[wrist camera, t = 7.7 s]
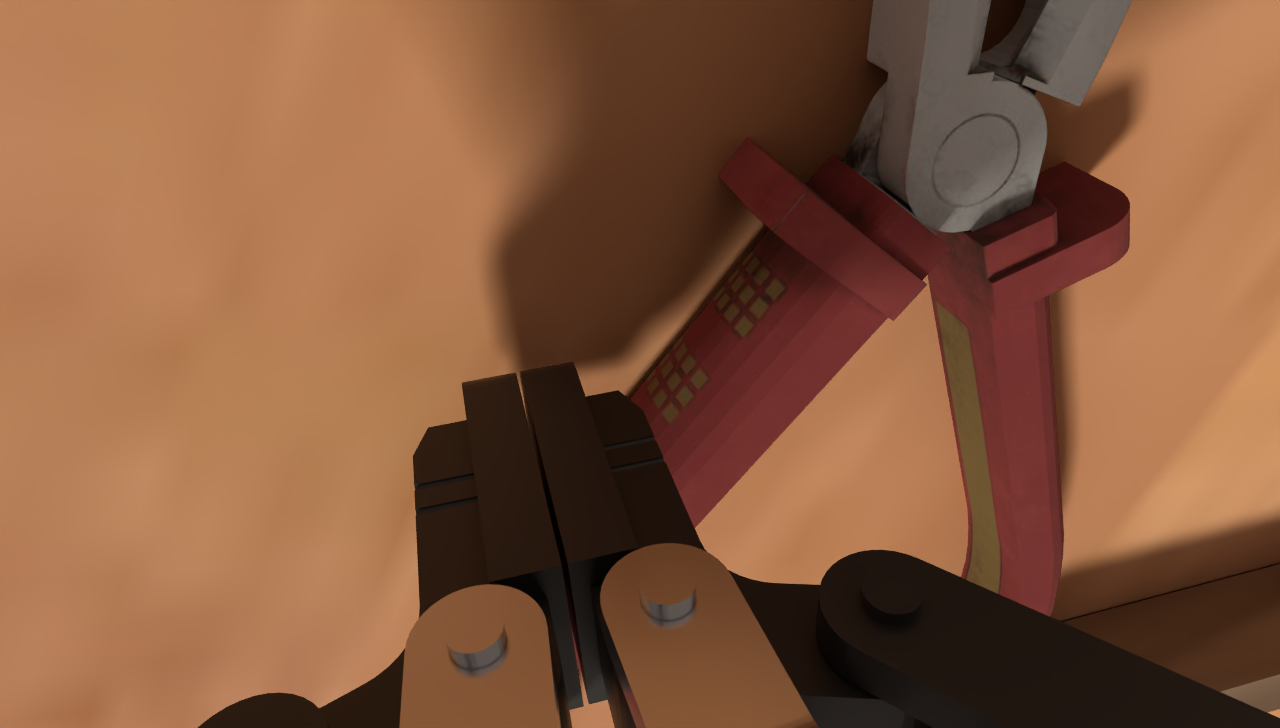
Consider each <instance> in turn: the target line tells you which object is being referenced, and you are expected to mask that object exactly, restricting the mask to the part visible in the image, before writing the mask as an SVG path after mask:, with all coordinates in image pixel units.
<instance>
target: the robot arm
mask: <svg viewBox="0 0 1280 728" xmlns="http://www.w3.org/2000/svg"><path fill="white" fill-rule="evenodd" d="M520 378H521V384H522V391H523V397H524V403H525V409H526V413H525V409H524V405H523V400H522V396H521V392H520V388H519V384H518V379H517V375H516V373H511V374H506V375H500V376H495V377H490V378H484V379H479V380H474V381H468V382H463V383H462V389H463V396H464V403H465V411H466V418H467V420H465V421H460V422H455V423H450V424H445V425H439V426H434V427H429V428H428V429H427V431H426V433H425V435H424V437H423V438H422V440H421V442H420V444H419V446H418V448H417V450H416V451H415V453H414V455H413V466H414V486H415V509H416V532H417V554H418V576H419V598H420V612H419V619H418V620H417V622H416V623H415V625H414V627H413V628H412V630H411V632H410V634H409V637H408V639H407V642H406V647H405V649H404V650H403V652H402V653H401V654H400V655H399V657H398V658H397V659H396V660H395V661H394V662H393V663H392V664H391V665H390V666H389V667H388V668H387V669H385V670H384V671H383V672H381V673H380V674H379V675H378V676H376V677H375V678H373V679H372V680H370V681H368V682H367V683H365V684H364V685H362V686H360V687H358V688H356V689H355V690H353V691H351V692H349V693H347V694H345V695H343V696H342V697H340V698H338V699H336V700H334V701H332V702H330V703H329V704H327V705H325V706H323V707H321V708H318V707H317V706H316V705H315V704H313V703H312V702H311V701H309V700H307V699H305V698H303V697H300V696H297V695H294V694H287V693H267V694H262V695H257V696H253V697H250V698H247V699H244V700H241V701H239V702H237V703H235V704H232V705H230V706H228V707H226V708H225V709H223V710H221V711H220V712H218V713H216V714H215V715H213V716H212V717H211V718H209V719H208V720H207V721H205V722H204V723H203V724H202V725H200V726H199V727H198V728H572V723H571V718H570V712H569V710H571V709H575V708H579V707H583V706H584V705H583V699H582V692H581V686H580V680H579V673H578V667H577V660H576V654H575V648H574V642H575V646H576V651H577V655H578V659H579V664H580V668H581V672H582V676H583V681H584V685H585V689H586V694H587V698H588V702H589V704H592V703H596V702H600V701H604V700H608V703H609V706H610V710H611V714H612V718H613V722H614V726H615V728H1280V718H1278V717H1276V716H1273V715H1271V714H1269V713H1267V712H1264V711H1262V710H1260V709H1258V708H1255V707H1253V706H1251V705H1249V704H1246V703H1244V702H1242V701H1239V700H1237V699H1235V698H1233V697H1230V696H1228V695H1226V694H1224V693H1221V692H1219V691H1217V690H1215V689H1212V688H1210V687H1208V686H1206V685H1203V684H1201V683H1199V682H1196V681H1194V680H1192V679H1190V678H1187V677H1185V676H1183V675H1181V674H1178V673H1176V672H1174V671H1172V670H1169V669H1167V668H1165V667H1163V666H1160V665H1158V664H1156V663H1153V662H1151V661H1149V660H1147V659H1144V658H1142V657H1140V656H1138V655H1135V654H1133V653H1131V652H1129V651H1126V650H1124V649H1122V648H1120V647H1117V646H1115V645H1113V644H1110V643H1108V642H1106V641H1104V640H1101V639H1099V638H1097V637H1095V636H1092V635H1090V634H1088V633H1086V632H1083V631H1081V630H1079V629H1077V628H1074V627H1072V626H1070V625H1067V624H1065V623H1063V622H1061V621H1058V620H1056V619H1054V618H1052V617H1049V616H1047V615H1045V614H1043V613H1040V612H1038V611H1036V610H1034V609H1031V608H1029V607H1027V606H1024V605H1022V604H1020V603H1018V602H1015V601H1013V600H1011V599H1009V598H1006V597H1004V596H1002V595H1000V594H997V593H995V592H993V591H991V590H988V589H986V588H984V587H981V586H979V585H977V584H975V583H972V582H970V581H968V580H966V579H963V578H961V577H959V576H957V575H954V574H952V573H950V572H948V571H945V570H943V569H941V568H938V567H936V566H934V565H932V564H929V563H927V562H925V561H923V560H920V559H918V558H915V557H913V556H910V555H907V554H903V553H899V552H895V551H887V550H869V551H861V552H857V553H854V554H851V555H848V556H846V557H844V558H842V559H840V560H839V561H837V562H836V563H835V564H833V565H832V566H831V567H830V568H829V570H828V571H827V572H826V574H825V575H824V577H823V579H822V581H821V585H807V584H780V583H768V582H761V581H756V580H751V579H748V578H745V577H742V576H740V575H737V574H735V573H733V572H731V571H729V570H728V569H727V568H726V567H725V566H724V565H723V564H722V563H721V562H720V561H719V560H718V559H717V558H716V557H714V556H713V555H711V554H710V553H708V552H707V551H706V550H705V549H704V547H703V545H702V543H701V542H700V540H699V537H698V535H697V533H696V530H695V528H694V526H693V524H692V521H691V519H690V517H689V514H688V512H687V510H686V508H685V505H684V503H683V501H682V498H681V496H680V494H679V492H678V489H677V487H676V485H675V482H674V480H673V478H672V475H671V473H670V471H669V469H668V466H667V464H666V462H664V459H663V455H662V453H661V450H660V448H659V446H658V443H657V441H655V439H654V434H653V432H652V430H651V427H650V425H649V423H648V421H647V418H646V416H645V414H644V411H643V409H641V408H640V407H639V406H637V405H636V404H635V403H634V402H632V401H631V400H630V399H628V398H627V397H626V396H625V395H623V394H622V393H621V392H619V391H612V392H607V393H602V394H597V395H592V396H587V397H585V394H584V391H583V388H582V385H581V382H580V379H579V376H578V374H577V371H576V368H575V365H574V363H573V362H569V363H563V364H558V365H553V366H547V367H542V368H537V369H531V370H526V371H520ZM526 415H527V417H526ZM527 421H528V422H527ZM572 633H573V635H572ZM573 638H574V641H573Z"/></svg>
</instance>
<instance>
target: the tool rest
mask: <svg viewBox="0 0 1280 728" xmlns="http://www.w3.org/2000/svg"><path fill="white" fill-rule="evenodd" d="M1063 623H1065V624H1067V625H1070V626H1072V627H1074V628H1077V629H1079V630H1081V631H1083V632H1086V633H1088V634H1090V635H1092V636H1095V637H1097V638H1099V639H1101V640H1104V641H1106V642H1108V643H1110V644H1113V645H1115V646H1117V647H1120V648H1122V649H1124V650H1126V651H1129V652H1131V653H1133V654H1135V655H1138V656H1140V657H1142V658H1144V659H1147V660H1149V661H1151V662H1153V663H1156V664H1158V665H1160V666H1163V667H1165V668H1167V669H1169V670H1172V671H1174V672H1176V673H1178V674H1181V675H1183V676H1185V677H1187V678H1190V679H1192V680H1194V681H1196V682H1199V683H1201V684H1203V685H1206V686H1208V687H1210V688H1212V689H1215V690H1217V691H1219V692H1221V693H1224V694H1226V695H1228V696H1230V697H1233V698H1235V699H1237V700H1239V701H1242V702H1244V703H1246V704H1249V705H1251V706H1253V707H1255V708H1258V709H1260V710H1262V711H1264V712H1271V711H1274V710H1277V709H1280V564H1278V565H1274V566H1270V567H1267V568H1263V569H1259V570H1255V571H1252V572H1248V573H1244V574H1240V575H1237V576H1233V577H1229V578H1225V579H1222V580H1218V581H1214V582H1210V583H1207V584H1203V585H1199V586H1195V587H1192V588H1188V589H1184V590H1180V591H1177V592H1173V593H1169V594H1165V595H1162V596H1158V597H1154V598H1150V599H1147V600H1143V601H1139V602H1135V603H1132V604H1128V605H1124V606H1120V607H1117V608H1113V609H1109V610H1105V611H1102V612H1098V613H1094V614H1090V615H1087V616H1083V617H1079V618H1075V619H1072V620H1068V621H1064V622H1063Z"/></svg>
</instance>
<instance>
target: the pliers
mask: <svg viewBox="0 0 1280 728" xmlns="http://www.w3.org/2000/svg"><path fill="white" fill-rule="evenodd" d="M1131 1H1132V0H1026V1H1025V6H1024V8H1023V10H1022V13H1021V15H1020V17H1019V20H1018V21H1017V23H1016V24H1015V26H1014V27H1013V29H1012V30H1011V32H1010V33H1009V34H1008V35H1007V36H1006V37H1005V38H1004V39H1003V40H1002V41H1001V42H1000V43H999V44H997V45H996V46H994V47H993V48H992V49H990V50H987V51H985V52H982V53H981V49H982V44H983V39H984V34H985V29H986V24H987V19H988V14H989V9H990V4H991V0H873V8H872V16H871V25H870V33H869V42H868V51H867V59H866V60H868V61H870V62H871V63H873V64H875V65H876V66H878V67H880V68H881V69H883V70H885V71H886V72H888V79H887V82H886V83H885V84H884V85H883V86H882V87H881V88H880V89H879V90H878V92H877V93H876V94H875V96H874V97H873V99H872V100H871V102H870V104H869V106H868V109H867V111H866V113H865V115H864V117H863V119H862V122H861V124H860V126H859V128H858V130H857V132H856V135H855V137H854V139H853V141H852V143H851V145H850V148H849V150H848V152H847V154H846V156H845V158H844V160H843V161H841V160H840V159H839V158H837V157H836V156H835V155H833V154H831V155H830V157H829V158H828V159H827V160H826V161H825V163H824V164H823V165H822V166H821V167H820V169H819V170H818V171H817V172H816V173H815V175H814V176H813V177H812V178H811V179H810V181H809V182H808V183H807V184H805V183H804V182H802V181H801V180H800V179H799V178H797V177H796V176H795V175H794V174H792V173H791V172H790V171H789V170H787V169H786V168H785V167H784V166H782V165H781V164H780V163H779V162H778V161H776V160H775V159H774V158H773V157H771V156H770V155H769V154H767V153H766V152H765V151H764V150H762V149H761V148H760V147H759V146H757V145H756V144H755V143H754V142H752V141H751V140H750V139H749V138H747V139H746V140H745V141H744V143H743V144H742V145H741V146H740V148H739V149H738V150H737V151H736V153H735V154H734V155H733V157H732V158H731V159H730V160H729V162H728V163H727V164H726V166H725V167H724V168H723V169H722V171H721V172H720V173H719V175H718V176H719V177H720V178H721V179H722V181H723V182H724V183H725V184H726V185H727V186H728V187H729V188H730V189H731V190H732V191H733V193H734V194H735V195H736V196H737V197H738V198H739V199H740V200H741V201H742V202H743V203H744V205H745V206H746V207H747V208H748V209H749V210H750V211H751V212H752V213H753V214H754V215H755V216H756V217H757V218H758V219H759V220H760V221H762V222H763V223H764V224H765V225H766V226H767V227H768V228H769V230H768V232H767V233H766V234H765V235H764V236H763V238H762V239H761V240H760V241H759V242H758V244H757V245H756V246H755V247H754V249H753V250H752V251H751V252H750V253H749V255H748V256H747V257H746V258H745V259H744V261H743V262H742V263H741V264H740V266H739V267H738V268H737V269H736V270H735V272H734V273H733V274H732V275H731V276H730V278H729V279H728V280H727V281H726V283H725V284H724V285H723V286H722V287H721V289H720V290H719V291H718V292H717V293H716V295H715V296H714V297H713V298H712V300H711V301H710V302H709V303H708V304H707V306H706V307H705V308H704V309H703V310H702V312H701V313H700V314H699V315H698V317H697V318H696V319H695V320H694V321H693V323H692V324H691V325H690V326H689V327H688V329H687V330H686V331H685V332H684V334H683V335H682V336H681V337H680V338H679V340H678V341H677V342H676V343H675V344H674V346H673V347H672V348H671V349H670V351H669V352H668V353H667V354H666V355H665V357H664V358H663V359H662V360H661V361H660V363H659V364H658V365H657V366H656V368H655V369H654V370H653V371H652V372H651V374H650V375H649V376H648V377H647V378H646V380H645V381H644V382H643V383H642V385H641V386H640V387H639V388H638V389H637V391H636V392H635V393H634V394H633V395H632V397H631V398H630V400H631V401H632V402H634V403H635V404H636V405H637V406H639V407H640V408H641V409H643V411H644V414H645V416H646V418H647V421H648V423H649V425H650V427H651V430H652V432H653V434H654V439H655V441H657V443H658V446H659V448H660V450H661V453H662V455H663V459H664V462H666V464H667V466H668V469H669V471H670V473H671V475H672V478H673V480H674V482H675V485H676V487H677V489H678V492H679V494H680V496H681V498H682V501H683V503H684V505H685V508H686V510H687V512H688V514H689V517H690V519H691V521H692V524H693V526H694V528H695V527H696V526H697V525H698V524H699V523H700V522H701V521H702V520H703V519H704V518H705V516H706V515H707V514H708V513H709V512H710V511H711V510H712V509H713V508H714V507H715V506H716V504H717V503H718V502H719V501H720V500H721V499H722V498H723V497H724V496H725V495H726V494H727V493H728V491H729V490H730V489H731V488H732V487H733V486H734V485H735V484H736V483H737V482H738V481H739V479H740V478H741V477H742V476H743V475H744V474H745V473H746V472H747V471H748V470H749V469H750V467H751V466H752V465H753V464H754V463H755V462H756V461H757V460H758V459H759V458H760V457H761V455H762V454H763V453H764V452H765V451H766V450H767V449H768V448H769V447H770V446H771V445H772V443H773V442H774V441H775V440H776V439H777V438H778V437H779V436H780V435H781V434H782V433H783V431H784V430H785V429H786V428H787V427H788V426H789V425H790V424H791V423H792V422H793V421H794V419H795V418H796V417H797V416H798V415H799V414H800V413H801V412H802V411H803V410H804V409H805V407H806V406H807V405H808V404H809V403H810V402H811V401H812V400H813V399H814V398H815V397H816V395H817V394H818V393H819V392H820V391H821V390H822V389H823V388H824V387H825V386H826V385H827V383H828V382H829V381H830V380H831V379H832V378H833V377H834V376H835V375H836V374H837V373H838V371H839V370H840V369H841V368H842V367H843V366H844V365H845V364H846V363H847V362H848V361H849V359H850V358H851V357H852V356H853V355H854V354H855V353H856V352H857V351H858V350H859V349H860V347H861V346H862V345H863V344H864V343H865V342H866V341H867V340H868V339H869V338H870V337H871V335H872V334H873V333H874V332H875V331H876V330H877V329H878V328H879V327H880V326H881V325H882V324H883V322H884V321H885V320H886V319H887V318H888V317H889V318H890V319H891V320H893V321H894V320H895V319H896V318H897V317H898V316H899V314H900V313H901V312H902V311H903V310H904V309H905V308H906V307H907V306H908V305H909V304H910V302H911V301H912V300H913V299H914V298H915V297H916V296H917V295H918V294H919V293H920V292H921V291H922V289H923V288H924V287H925V286H926V285H927V284H926V283H925V282H923V281H922V280H923V279H924V278H925V277H926V276H927V275H928V280H929V285H930V291H931V297H932V303H933V309H934V315H935V320H936V326H937V332H938V338H939V344H940V350H941V356H942V361H943V367H944V373H945V379H946V385H947V391H948V396H949V402H950V408H951V414H952V420H953V426H954V432H955V437H956V443H957V449H958V455H959V461H960V467H961V472H962V478H963V484H964V490H965V496H966V502H967V508H968V525H969V528H968V547H967V554H966V561H965V565H964V568H963V572H962V576H961V578H963V579H966V580H968V581H970V582H972V583H975V584H977V585H979V586H981V587H984V588H986V589H988V590H991V591H993V592H995V593H997V594H1000V595H1002V596H1004V597H1006V598H1009V599H1011V600H1013V601H1015V602H1018V603H1020V604H1022V605H1024V606H1027V607H1029V608H1031V609H1034V610H1036V611H1038V612H1040V613H1043V614H1045V615H1047V616H1049V617H1050V616H1051V613H1052V611H1053V608H1054V604H1055V599H1056V594H1057V589H1058V585H1059V580H1060V574H1061V566H1062V559H1063V543H1064V529H1063V513H1062V498H1061V482H1060V466H1059V451H1058V435H1057V420H1056V404H1055V389H1054V373H1053V358H1052V342H1051V326H1050V311H1049V295H1050V294H1052V293H1055V292H1057V291H1059V290H1061V289H1063V288H1065V287H1067V286H1069V285H1072V284H1074V283H1076V282H1078V281H1080V280H1082V279H1084V278H1086V277H1088V276H1091V275H1093V274H1095V273H1097V272H1099V271H1101V270H1103V269H1105V268H1107V267H1110V266H1111V265H1113V264H1114V263H1116V262H1117V261H1119V260H1120V259H1121V258H1122V257H1123V256H1124V255H1125V254H1126V252H1127V251H1128V248H1129V242H1130V203H1129V200H1128V198H1127V197H1126V195H1125V194H1124V193H1123V192H1121V191H1120V190H1119V189H1117V188H1115V187H1113V186H1111V185H1109V184H1107V183H1105V182H1103V181H1101V180H1099V179H1097V178H1095V177H1094V176H1092V175H1090V174H1088V173H1086V172H1084V171H1082V170H1080V169H1078V168H1076V167H1074V166H1072V165H1070V164H1068V163H1066V162H1064V163H1061V164H1059V165H1057V166H1055V167H1053V168H1051V169H1048V170H1046V171H1044V172H1042V173H1040V174H1039V172H1040V167H1041V163H1042V159H1043V155H1044V151H1045V147H1046V143H1047V122H1046V117H1045V113H1044V111H1043V108H1042V106H1041V104H1040V102H1039V101H1038V99H1037V98H1036V97H1035V96H1034V95H1035V93H1036V92H1037V91H1039V92H1041V93H1044V94H1047V95H1049V96H1052V97H1054V98H1057V99H1060V100H1062V101H1065V102H1067V103H1070V104H1072V105H1075V106H1078V107H1080V105H1081V103H1082V101H1083V99H1084V97H1085V96H1086V94H1087V92H1088V90H1089V88H1090V86H1091V84H1092V83H1093V81H1094V79H1095V77H1096V75H1097V73H1098V72H1099V70H1100V68H1101V66H1102V64H1103V62H1104V60H1105V58H1106V56H1107V53H1108V51H1109V49H1110V47H1111V45H1112V43H1113V41H1114V39H1115V36H1116V34H1117V32H1118V30H1119V28H1120V26H1121V23H1122V21H1123V19H1124V17H1125V15H1126V12H1127V10H1128V8H1129V6H1130V3H1131ZM572 635H573V633H572ZM573 641H574V638H573ZM574 648H575V654H576V660H577V667H578V670H579V668H580V664H579V659H578V655H577V651H576V646H575V642H574Z"/></svg>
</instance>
